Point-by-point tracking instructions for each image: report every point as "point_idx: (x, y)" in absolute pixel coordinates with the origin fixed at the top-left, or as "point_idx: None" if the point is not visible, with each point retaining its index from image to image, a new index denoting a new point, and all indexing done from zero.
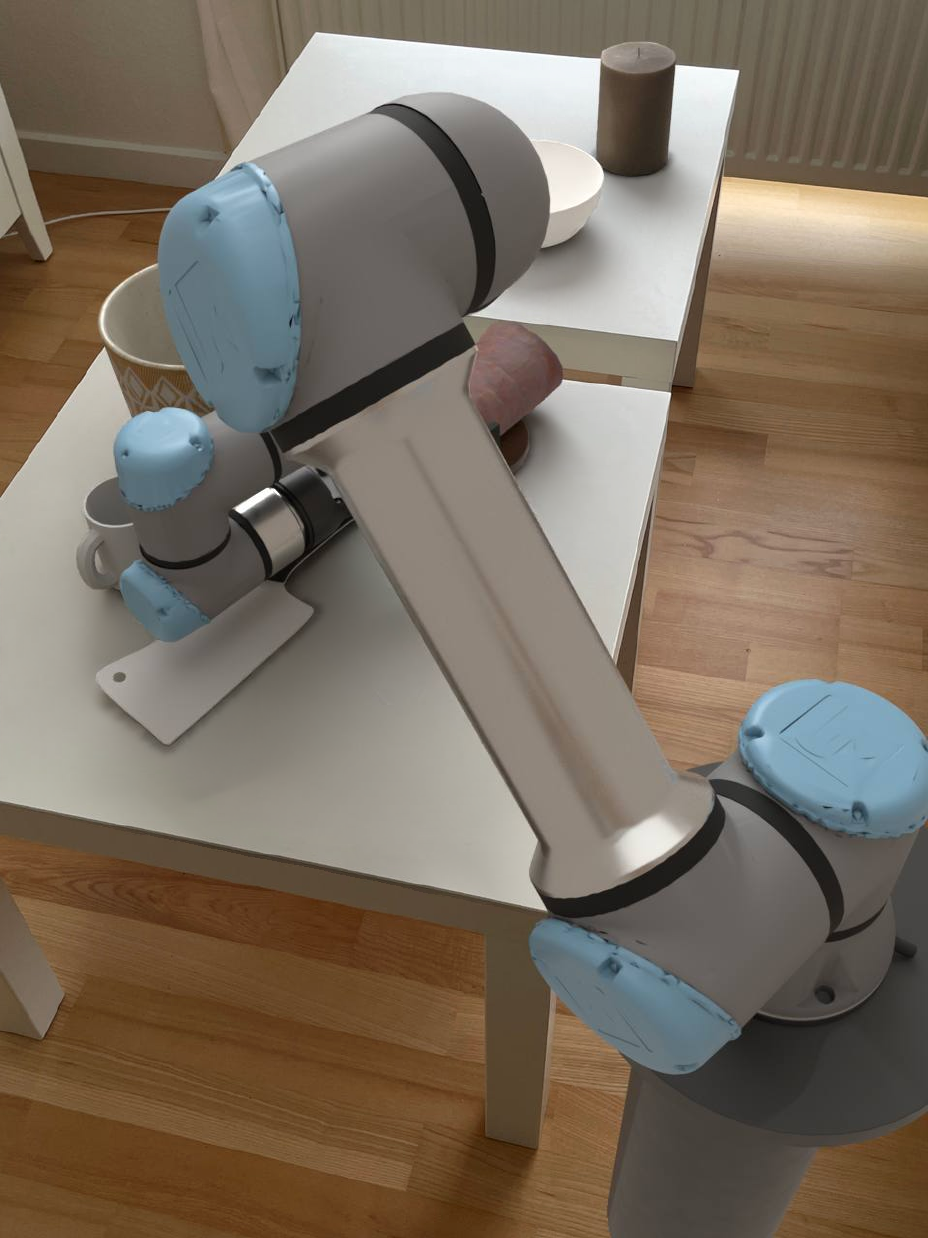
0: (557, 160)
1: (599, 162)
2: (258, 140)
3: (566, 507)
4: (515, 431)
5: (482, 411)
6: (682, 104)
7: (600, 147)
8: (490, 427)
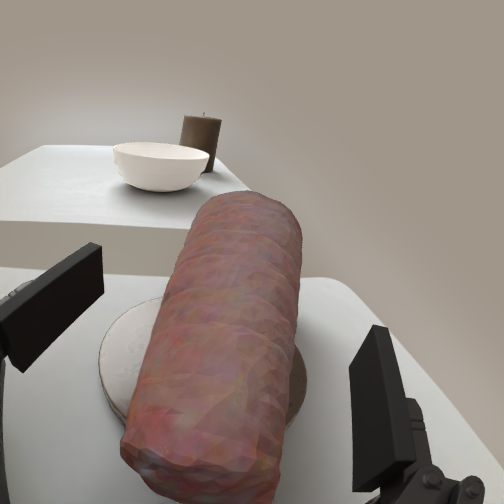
0: (169, 153)
1: None
2: (5, 166)
3: None
4: None
5: (287, 312)
6: None
7: None
8: (385, 340)
